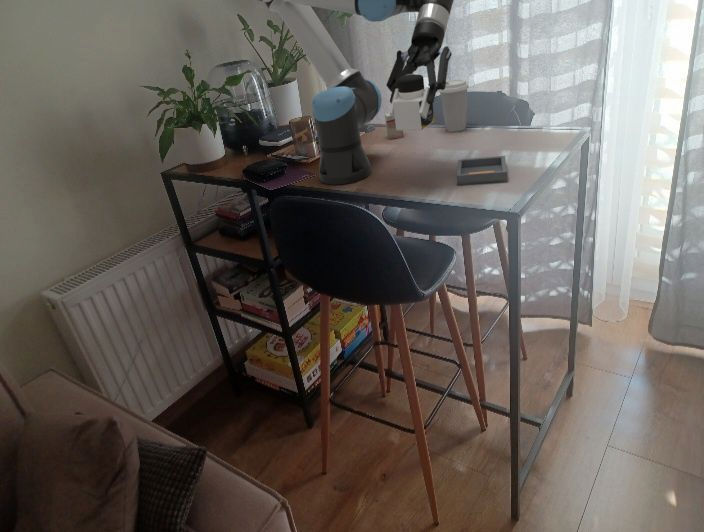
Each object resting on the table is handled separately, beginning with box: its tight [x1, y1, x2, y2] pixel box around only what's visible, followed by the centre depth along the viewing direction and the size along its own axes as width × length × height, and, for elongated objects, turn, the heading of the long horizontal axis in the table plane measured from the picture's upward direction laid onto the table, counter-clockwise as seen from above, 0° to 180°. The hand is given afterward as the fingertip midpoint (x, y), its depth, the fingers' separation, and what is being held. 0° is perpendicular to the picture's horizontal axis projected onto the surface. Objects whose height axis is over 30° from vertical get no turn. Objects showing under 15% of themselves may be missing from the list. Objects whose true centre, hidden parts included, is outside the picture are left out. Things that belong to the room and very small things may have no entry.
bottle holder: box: [456, 155, 508, 186], centre depth 133 cm, size 12×12×3 cm
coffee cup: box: [437, 78, 469, 133], centre depth 169 cm, size 10×10×15 cm
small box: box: [384, 112, 405, 140], centre depth 174 cm, size 5×4×8 cm
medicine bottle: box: [393, 73, 435, 131], centre depth 124 cm, size 7×7×12 cm
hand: (407, 115), depth 123 cm, fingers closed on medicine bottle, 7 cm apart
